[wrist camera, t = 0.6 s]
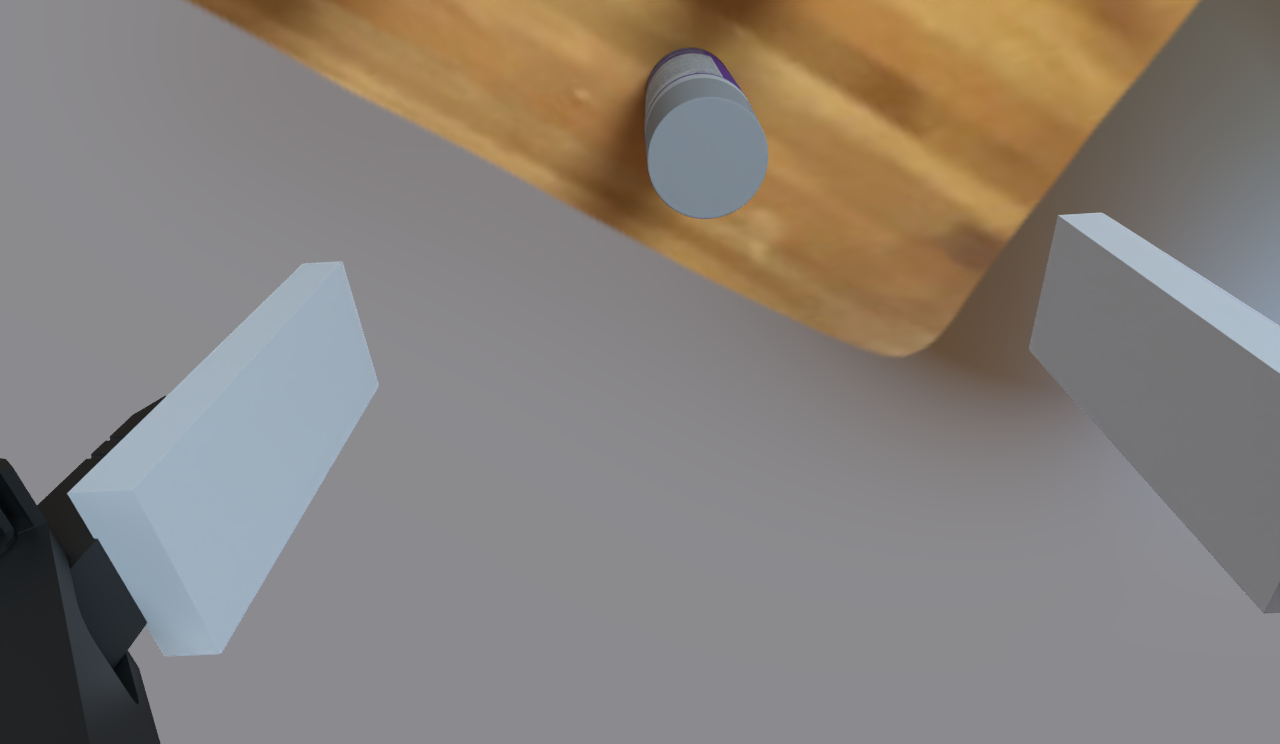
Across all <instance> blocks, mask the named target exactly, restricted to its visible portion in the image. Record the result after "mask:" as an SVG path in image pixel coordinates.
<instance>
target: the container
mask: <svg viewBox="0 0 1280 744" xmlns="http://www.w3.org/2000/svg"><path fill="white" fill-rule="evenodd" d="M644 134H645V144H646V155H647V165H648V172H649V176H650V180H651V183H652V185H653V187H654V189H655V191H656V192H657V194H658V195H659V197H660V198H661V199H662V200H663V201H664V202H665V203H666V204H667V205H668V206H669V207H671V208H672V209H674V210H675V211H677V212H679V213H681V214H683V215H686V216H689V217H693V218H700V219H711V218H718V217H722V216H725V215H728V214H730V213H732V212H734V211H736V210H738V209H739V208H741V207H742V206H743V205H745V204H746V203H747V202H748V201H749V200H750V199H751V198H752V197H753V196H754V194H755V193H756V192H757V190H758V189H759V187H760V185H761V183H762V181H763V179H764V176H765V173H766V169H767V164H768V146H767V141H766V137H765V134H764V132H763V130H762V128H761V125H760V123H759V121H758V119H757V117H756V115H755V113H754V111H753V109H752V107H751V105H750V103H749V101H748V99H747V98H746V96H745V95H744V93H743V92H742V90H741V89H740V87H739V86H738V85H737V83H736V82H735V80H734V79H733V77H732V76H731V74H730V73H729V71H728V70H727V68H726V67H725V66H724V64H723V63H722V62H721V61H720V60H719V59H718V58H717V57H716V56H715V55H713V54H711V53H710V52H708V51H705V50H703V49H699V48H682V49H678V50H675V51H673V52H671V53H669V54H667V55H666V56H665V57H663V58H662V59H661V60H660V61H659V62H658V63H657V65H656V66H655V67H654V69H653V71H652V72H651V74H650V77H649V80H648V83H647V88H646V106H645V133H644Z"/></svg>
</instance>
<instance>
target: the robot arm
mask: <svg viewBox="0 0 1280 744" xmlns="http://www.w3.org/2000/svg"><path fill="white" fill-rule="evenodd" d="M1029 350H1030V351H1031V352H1032V354H1033V355H1034V356H1035V357H1036V358H1037V359H1038V360H1039V361H1040V362H1041V364H1042V365H1043V366H1044V367H1045V368H1046V369H1047V370H1048V372H1049V373H1050V374H1051V375H1052V376H1053V377H1054V378H1055V379H1056V381H1057V382H1058V383H1059V384H1060V385H1061V386H1062V387H1063V388H1064V390H1065V391H1066V392H1067V393H1068V394H1069V395H1070V396H1071V397H1072V399H1073V400H1074V401H1075V402H1076V403H1077V404H1078V405H1079V406H1080V408H1081V409H1082V410H1083V411H1084V412H1085V413H1086V414H1087V415H1088V417H1089V418H1090V419H1091V420H1092V421H1093V422H1094V423H1095V424H1096V426H1097V427H1098V428H1099V429H1100V430H1101V431H1102V432H1103V433H1104V435H1105V436H1106V437H1107V438H1108V439H1109V440H1110V441H1111V442H1112V444H1113V445H1114V446H1115V447H1116V448H1117V449H1118V450H1119V451H1120V452H1121V454H1122V455H1123V456H1124V457H1125V458H1126V459H1127V460H1128V462H1129V463H1130V464H1131V465H1132V466H1133V467H1134V468H1135V469H1136V471H1137V472H1138V473H1139V474H1140V475H1141V476H1142V477H1143V478H1144V480H1145V481H1146V482H1147V483H1148V484H1149V485H1150V486H1151V487H1152V489H1153V490H1154V491H1155V492H1156V493H1157V494H1158V495H1159V496H1160V498H1161V499H1162V500H1163V501H1164V502H1165V503H1166V504H1167V505H1168V507H1169V508H1170V509H1171V510H1172V511H1173V512H1174V513H1175V514H1176V515H1177V517H1178V518H1179V519H1180V520H1181V521H1182V522H1183V523H1184V524H1185V526H1186V527H1187V528H1188V529H1189V530H1190V531H1191V532H1192V534H1193V535H1194V536H1195V537H1196V538H1197V539H1198V540H1199V541H1200V542H1201V544H1202V545H1203V546H1204V547H1205V548H1206V549H1207V550H1208V552H1209V553H1211V555H1212V556H1213V557H1214V558H1215V559H1216V560H1217V562H1218V563H1219V564H1220V565H1221V566H1222V567H1223V568H1224V570H1225V571H1226V572H1227V573H1228V574H1229V575H1230V576H1231V577H1232V578H1233V580H1234V581H1235V582H1236V583H1237V584H1238V585H1239V586H1240V587H1241V589H1242V590H1243V591H1244V592H1245V593H1246V594H1247V595H1248V596H1249V597H1250V599H1251V600H1252V601H1253V602H1254V603H1255V604H1256V605H1257V607H1258V608H1259V609H1260V610H1261V611H1262V612H1263V613H1280V326H1279V325H1277V324H1276V323H1274V322H1273V321H1271V320H1269V319H1268V318H1266V317H1265V316H1263V315H1261V314H1260V313H1258V312H1257V311H1255V310H1254V309H1252V308H1251V307H1249V306H1248V305H1246V304H1245V303H1243V302H1241V301H1240V300H1238V299H1236V298H1235V297H1233V296H1232V295H1230V294H1229V293H1227V292H1226V291H1224V290H1222V289H1221V288H1219V287H1218V286H1216V285H1215V284H1213V283H1211V282H1210V281H1208V280H1207V279H1205V278H1204V277H1202V276H1201V275H1199V274H1198V273H1196V272H1194V271H1193V270H1191V269H1190V268H1188V267H1187V266H1185V265H1183V264H1182V263H1180V262H1179V261H1177V260H1176V259H1174V258H1172V257H1171V256H1169V255H1168V254H1166V253H1165V252H1163V251H1162V250H1160V249H1158V248H1157V247H1155V246H1153V245H1152V244H1150V243H1149V242H1147V241H1146V240H1144V239H1143V238H1141V237H1140V236H1138V235H1136V234H1135V233H1133V232H1132V231H1130V230H1129V229H1127V228H1125V227H1124V226H1122V225H1121V224H1119V223H1118V222H1116V221H1114V220H1113V219H1111V218H1110V217H1108V216H1107V215H1105V214H1104V213H1086V214H1071V215H1059V216H1058V219H1057V223H1056V228H1055V232H1054V237H1053V241H1052V246H1051V250H1050V255H1049V260H1048V265H1047V269H1046V273H1045V278H1044V282H1043V287H1042V292H1041V296H1040V301H1039V305H1038V310H1037V314H1036V319H1035V324H1034V328H1033V333H1032V337H1031V341H1030V346H1029ZM378 386H379V384H378V381H377V378H376V374H375V371H374V367H373V364H372V361H371V357H370V354H369V351H368V347H367V344H366V341H365V337H364V333H363V330H362V327H361V323H360V320H359V316H358V313H357V310H356V306H355V303H354V300H353V296H352V293H351V289H350V286H349V282H348V279H347V276H346V272H345V269H344V265H343V262H342V261H339V262H323V263H307V264H302V265H301V266H300V267H299V268H298V269H297V270H296V271H295V272H294V273H292V275H290V276H289V277H288V278H287V279H286V280H285V281H284V282H283V283H282V284H281V285H280V286H279V287H278V288H277V289H276V290H275V291H274V292H273V293H272V294H271V295H270V296H269V297H268V298H267V299H266V300H265V301H264V302H263V303H262V304H261V305H260V306H259V307H258V308H257V309H256V310H255V311H254V312H253V313H251V315H249V316H248V317H247V319H245V321H244V322H242V323H241V324H240V325H239V326H238V327H237V328H236V329H235V330H234V331H233V332H232V333H231V334H230V335H229V336H228V337H227V338H226V339H225V340H224V341H223V342H222V343H221V344H220V345H219V346H218V347H217V348H216V349H215V350H214V351H213V352H211V354H210V355H208V356H207V357H206V358H205V359H204V360H203V361H202V362H201V363H200V364H199V365H198V366H197V367H196V368H195V369H194V370H193V371H192V372H191V373H190V374H189V375H188V376H187V377H186V378H185V379H184V380H183V381H182V382H181V383H180V384H179V385H178V386H177V387H176V388H175V389H174V390H173V391H171V393H169V395H167V396H164V397H162V398H161V399H159V400H157V401H156V402H154V403H152V404H151V405H149V406H147V407H145V408H144V409H142V410H141V411H139V412H137V413H135V414H134V415H132V416H131V417H130V418H129V419H128V420H127V421H126V422H125V423H124V424H123V425H122V426H121V427H120V428H118V429H117V430H116V431H115V432H114V433H113V434H112V435H111V436H110V441H105V442H104V443H103V444H102V445H100V446H99V448H97V449H96V450H95V451H94V452H93V453H92V454H91V456H92V457H91V459H86V460H85V461H84V462H83V463H81V465H79V466H78V467H77V468H76V469H75V470H74V471H73V472H72V473H71V474H70V475H69V476H68V477H67V478H66V479H65V480H64V481H63V482H61V483H60V484H59V485H58V486H57V487H56V488H55V489H54V490H53V491H52V492H51V493H50V494H49V495H48V496H47V497H46V498H45V499H44V500H42V502H40V503H39V504H38V505H36V504H35V502H34V500H33V499H32V497H31V496H30V494H29V492H28V491H27V489H26V488H25V486H24V484H23V483H22V481H21V480H20V478H19V476H18V475H17V473H16V472H15V470H14V468H13V467H12V466H11V465H10V463H9V462H8V461H7V460H6V459H1V458H0V744H160V740H159V738H158V734H157V730H156V726H155V723H154V720H153V716H152V713H151V709H150V705H149V702H148V699H147V695H146V691H145V688H144V684H143V681H142V677H141V674H140V670H139V668H138V666H137V664H136V663H135V661H134V660H133V658H132V656H131V655H130V653H129V652H128V649H129V647H130V646H131V645H132V643H133V642H134V640H135V639H136V638H137V636H138V635H139V634H140V632H141V631H142V629H143V628H144V626H145V625H146V627H147V628H148V630H149V632H150V633H151V635H152V636H153V639H154V640H155V642H156V644H157V645H158V647H159V648H160V650H161V652H162V654H163V655H164V656H187V655H212V654H221V653H222V651H223V650H224V648H225V646H226V645H227V643H228V641H229V640H230V638H231V636H232V634H233V633H234V631H235V629H236V628H237V626H238V624H239V623H240V621H241V619H242V618H243V616H244V614H245V612H246V611H247V609H248V607H249V606H250V604H251V602H252V600H253V599H254V597H255V595H256V594H257V592H258V590H259V589H260V587H261V585H262V584H263V582H264V580H265V578H266V577H267V575H268V573H269V572H270V570H271V568H272V566H273V565H274V563H275V561H276V560H277V558H278V556H279V555H280V553H281V551H282V550H283V548H284V546H285V544H286V543H287V541H288V539H289V538H290V536H291V534H292V532H293V531H294V529H295V527H296V526H297V524H298V522H299V520H300V519H301V517H302V516H303V514H304V512H305V511H306V509H307V507H308V505H309V504H310V502H311V500H312V498H313V497H314V495H315V493H316V492H317V490H318V488H319V487H320V485H321V483H322V482H323V480H324V478H325V476H326V475H327V473H328V471H329V470H330V468H331V466H332V465H333V463H334V461H335V460H336V458H337V456H338V454H339V453H340V451H341V449H342V448H343V446H344V444H345V443H346V441H347V439H348V437H349V436H350V434H351V432H352V431H353V429H354V427H355V426H356V424H357V422H358V420H359V419H360V417H361V415H362V414H363V412H364V410H365V409H366V407H367V405H368V403H369V402H370V400H371V398H372V397H373V395H374V393H375V392H376V390H377V388H378Z"/></svg>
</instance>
